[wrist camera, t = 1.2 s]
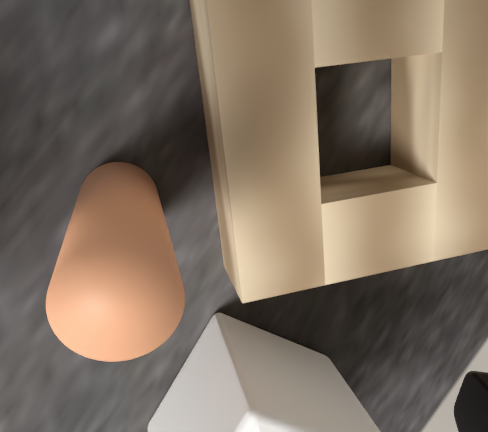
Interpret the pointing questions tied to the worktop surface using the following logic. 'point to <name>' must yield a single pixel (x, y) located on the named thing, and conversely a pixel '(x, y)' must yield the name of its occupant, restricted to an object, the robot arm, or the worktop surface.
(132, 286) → the peg
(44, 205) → the worktop surface
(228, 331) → the medicine bottle
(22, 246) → the worktop surface
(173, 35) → the worktop surface
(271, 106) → the socket block
